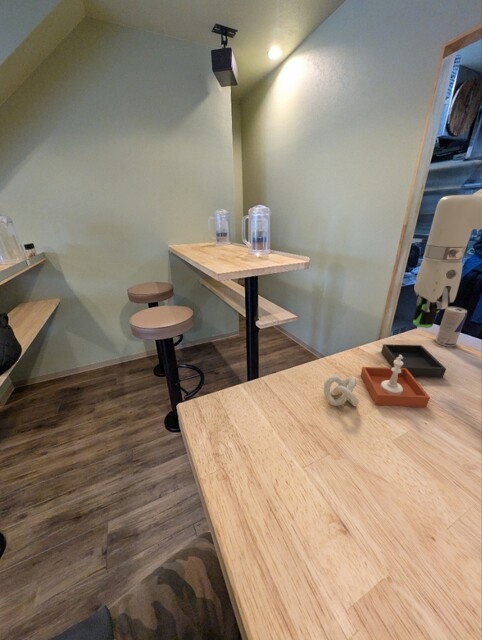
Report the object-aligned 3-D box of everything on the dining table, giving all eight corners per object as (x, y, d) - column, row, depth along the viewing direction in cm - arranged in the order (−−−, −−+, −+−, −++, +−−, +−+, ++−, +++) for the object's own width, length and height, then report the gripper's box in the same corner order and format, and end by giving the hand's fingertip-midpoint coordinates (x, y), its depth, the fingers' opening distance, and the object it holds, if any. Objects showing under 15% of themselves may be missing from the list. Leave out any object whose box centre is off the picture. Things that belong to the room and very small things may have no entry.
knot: (367, 406, 59) (371, 386, 57) (341, 418, 56) (345, 398, 54) (342, 387, 65) (346, 368, 63) (318, 397, 62) (321, 378, 60)
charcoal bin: (419, 353, 78) (421, 345, 77) (443, 378, 67) (446, 368, 66) (381, 352, 80) (383, 344, 78) (398, 376, 69) (401, 367, 67)
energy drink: (459, 345, 82) (472, 311, 77) (448, 348, 80) (460, 314, 75) (441, 337, 86) (453, 305, 81) (431, 341, 84) (442, 308, 79)
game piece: (428, 329, 65) (435, 308, 62) (410, 324, 68) (415, 303, 65) (434, 324, 67) (440, 303, 65) (416, 319, 70) (421, 299, 68)
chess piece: (375, 385, 65) (383, 352, 61) (390, 380, 66) (398, 347, 62) (392, 397, 61) (402, 363, 57) (407, 391, 62) (417, 358, 58)
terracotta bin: (403, 377, 68) (406, 368, 67) (426, 407, 58) (430, 397, 57) (360, 375, 69) (362, 366, 68) (375, 405, 59) (377, 395, 58)
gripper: (487, 259, 52) (457, 337, 60) (440, 247, 66) (421, 311, 74) (447, 260, 53) (423, 336, 61) (410, 247, 67) (394, 310, 75)
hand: (422, 322), depth 67 cm, fingers closed on game piece, 2 cm apart
